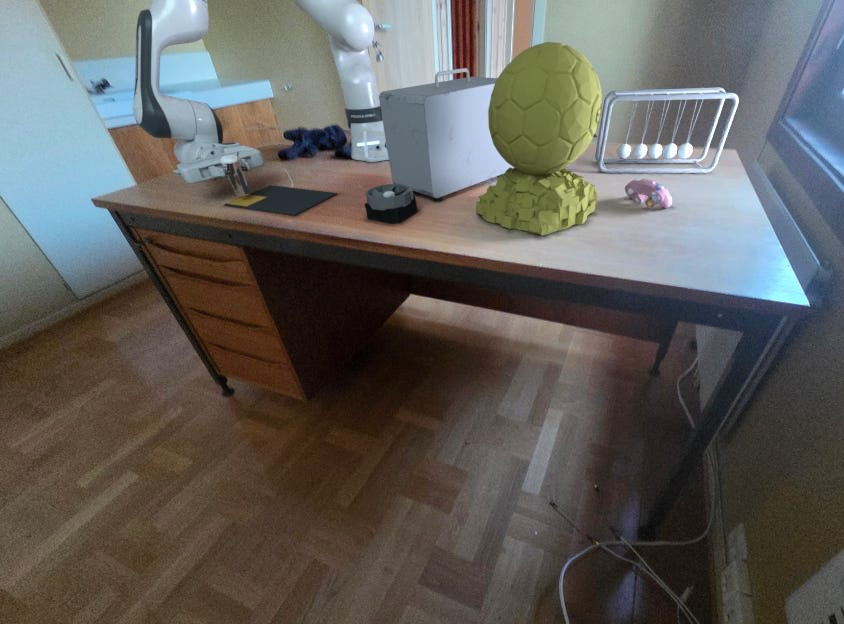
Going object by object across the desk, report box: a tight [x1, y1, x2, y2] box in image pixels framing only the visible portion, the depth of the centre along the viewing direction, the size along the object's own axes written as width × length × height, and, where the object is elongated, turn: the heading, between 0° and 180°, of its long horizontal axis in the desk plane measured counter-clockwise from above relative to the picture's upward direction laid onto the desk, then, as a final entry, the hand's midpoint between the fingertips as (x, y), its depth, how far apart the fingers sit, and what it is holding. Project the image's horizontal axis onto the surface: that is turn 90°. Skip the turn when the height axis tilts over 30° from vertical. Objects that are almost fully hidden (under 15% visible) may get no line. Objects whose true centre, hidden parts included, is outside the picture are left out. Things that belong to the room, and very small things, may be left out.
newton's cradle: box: [594, 86, 740, 174], centre depth 103 cm, size 30×10×18 cm, turn 80°
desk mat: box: [224, 184, 338, 217], centre depth 102 cm, size 24×16×1 cm, turn 66°
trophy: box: [475, 41, 603, 236], centre depth 77 cm, size 22×22×30 cm
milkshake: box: [220, 152, 251, 197], centre depth 98 cm, size 4×5×10 cm
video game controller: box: [624, 177, 673, 209], centre depth 86 cm, size 10×5×7 cm, turn 36°
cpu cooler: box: [364, 183, 418, 225], centre depth 89 cm, size 10×6×10 cm
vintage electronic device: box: [379, 67, 514, 202], centre depth 99 cm, size 32×18×25 cm, turn 135°
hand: (236, 169), depth 97 cm, fingers closed on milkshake, 4 cm apart
